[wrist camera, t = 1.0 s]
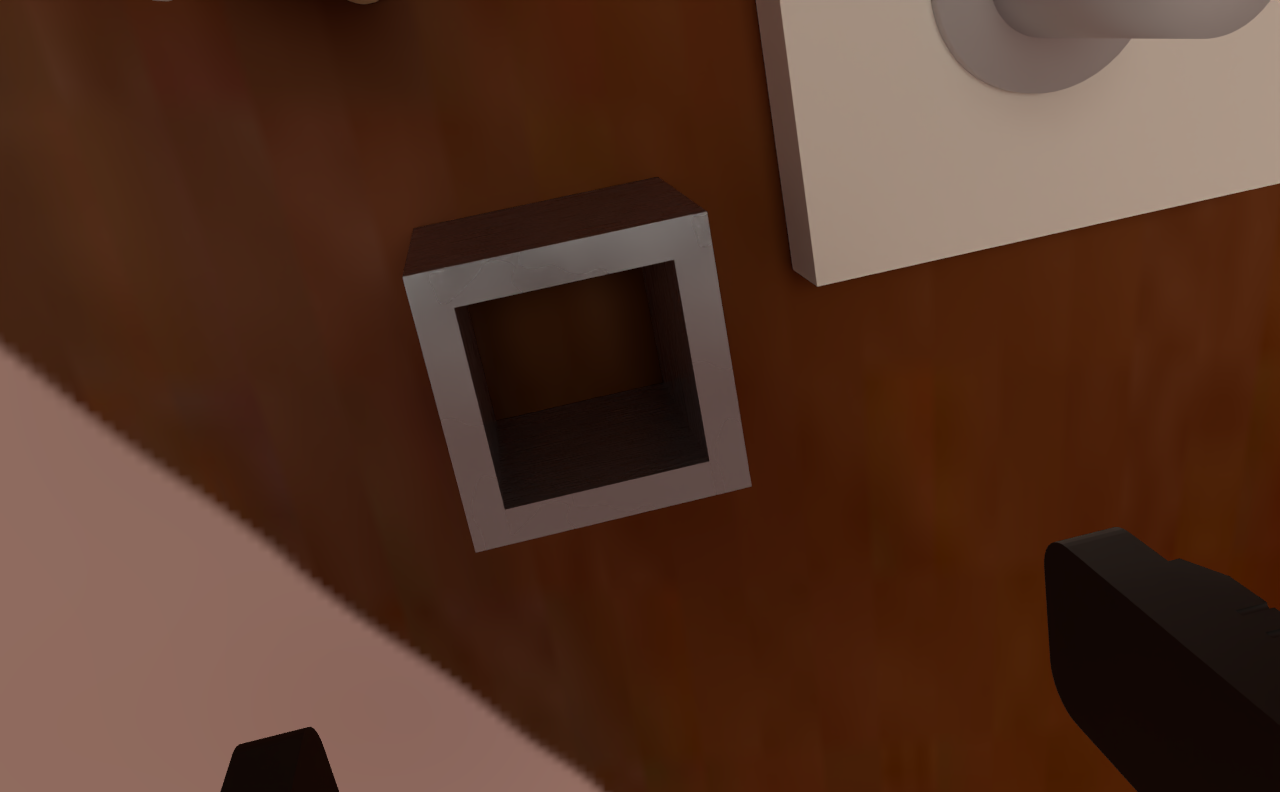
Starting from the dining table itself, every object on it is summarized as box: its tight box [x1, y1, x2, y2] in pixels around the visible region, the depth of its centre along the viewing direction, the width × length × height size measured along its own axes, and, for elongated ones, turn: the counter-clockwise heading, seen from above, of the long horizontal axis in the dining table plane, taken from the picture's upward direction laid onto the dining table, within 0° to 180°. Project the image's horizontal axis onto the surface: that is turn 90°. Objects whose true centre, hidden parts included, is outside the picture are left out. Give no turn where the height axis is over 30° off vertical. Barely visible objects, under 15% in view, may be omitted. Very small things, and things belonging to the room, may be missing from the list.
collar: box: [402, 177, 752, 552], centre depth 24 cm, size 6×6×6 cm
